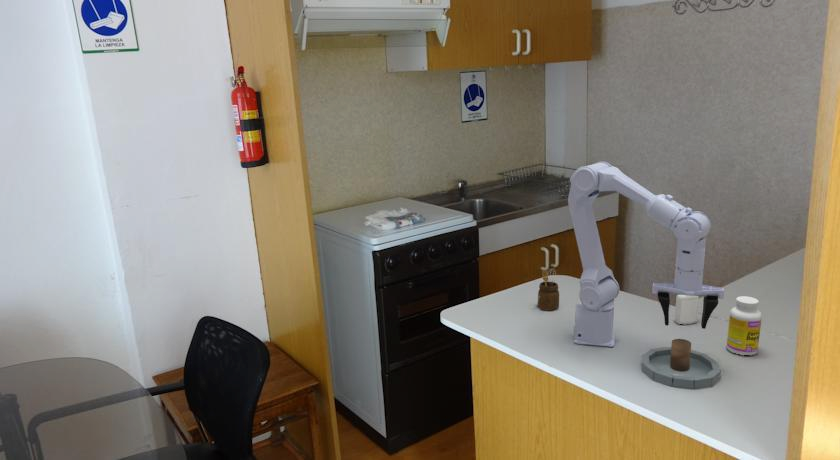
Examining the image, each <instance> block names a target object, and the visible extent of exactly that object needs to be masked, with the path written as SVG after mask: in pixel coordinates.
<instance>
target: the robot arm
mask: <svg viewBox="0 0 840 460" xmlns="http://www.w3.org/2000/svg"><path fill="white" fill-rule="evenodd" d="M569 182H570V188H569V192H568V198H567V204H568V209H569V212H570V216H571V217H570V218H571V220H572V226H573V231H574V234H575V235H574V236H575V239H576V243H577V248H578V252H579V257H580V262H581V266H582V273H581V275H580V276H581V277H580V278H579V287H580V290H579V293H578V294H579V295H578V298H579V301H580V304H576V305H575V314H574V325H573V333H574V336H573V337H574V339H573V343H574V344H577V345H578V344H579V345H586V346H587V345H588V346H589V345H590V346H597V347H598V346H600V347H612V348H613V347H615V333H614V321H615V320H614V317H615V313H614V312H615V299H616V298H617V297H619V295H620V284H619V282H618V281H617V280H616V279H615V277H614V274H613V270H612V269H610V268H609V267H608V266H607V265H606V260H605V257H604V252H603V246H602V243H601V238H600V234H599V229H598V225H597V220H596V216H595V212H594V207H593V203H594V201H595V200H596V199H597V197H598V196H599V194H600V193H601V192H614V191H615V192H617V193H619V194H620V195H622V196H624V197H625V198H627V199H630V200H631V201H633V202H635V203H637V204H638V205H640V206H642V207H644V208H645V209H646V214H647V216H648V217H650V218H651V219H653V220H655V221H656V222H658V223H659V224H661V225H663V226H664V227H666V228H667V229H669V230H670V231H673V235H674V237H675V238H676V241H677V245H676V256H675V269H674V270H675V272H674V280H673V281H674V282H653V283H652V294H653V295H654V294H655V295H657V300H658V301H659V304H660V306H661V309H662V312H663V316H664V317H663V318H664V326H667V327H668V326H669V323H670V320H669V319H670V318H669V317H670V312H669V311H670V303H671V299H670V295H676V296H677V295H686V296H699V297H703V301H702V302H703V305H702V306H703V307H702V315H701V322H700V326H701V329H704V330H706V329H707V328H706V327H707V325H708V321H709V319H710V317H711V316H712V314H713V312H714V310H715V309H716V308H717V306H718V305H719V299H720V300H723V299H724V297H725V289H724V288H723V287H718V286H711V285H707V284H706V285H705V284H703V278H704V267H705V258H706V256H705V255H706V243H707V242H706V240H707V237H706V236H707V235H708V234H709V233H710V232H711V229H712V224H711V221H710V219H709V217H708V216H707V215H706V214H705V213H704V212H703V211H698V210H697V211H693V209H692V208H691V207H689V206H687V207H685V206H683V204H680V203H679V202H677V201H676V200H674V196H672V195H671V194H666V195H665V194H663V193H662V194H656V195H655V194H654V193H652V192H651V191H649V190H648V189H647V188H645V187H644V186H642V185H641V184H639V183H637V182H636V181H635V180H633V179H632V178H631V177H629V176H627V175H626V174H625V173H624V172H622V171H621V170H620V169H619V168H618V167H616V166H614V165H611V164H610V163H609V162H607V161H598V162H595V163H593V164H589V165H586V166H585V165H583V166H580V167H578V168H577V169H575V171H574V172H573V174H572V175H571V176H570V178H569Z"/></svg>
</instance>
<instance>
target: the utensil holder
mask: <svg viewBox="0 0 840 460" xmlns="http://www.w3.org/2000/svg"><path fill="white" fill-rule="evenodd" d="M552 270H553V271H552ZM552 270H542V271H541V272H542V273H541V274H542V280H543V281H542V282H540V283H539V287H538V288H539V289H538V292H537V307H538V309H540V310H542V311H546V312H547V311H548V312H551V311H556V310H558V309H559V307H560V291H559V284H558V282H556V279H557V278H556V277H557V275H552V276H553V277H552V278H554V276H555V278H554V279H551V280H552V281H551V280H549V276H551V273H552V272H553V273H552V274H555V273H557V272H556V270H555V269H552ZM554 272H555V273H554ZM549 273H550V274H549Z"/></svg>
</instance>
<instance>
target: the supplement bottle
mask: <svg viewBox="0 0 840 460" xmlns="http://www.w3.org/2000/svg"><path fill="white" fill-rule="evenodd" d="M759 302H760V301H759V300H758V299H757V298H755V297H752V296H745V295H743V296H742V295H741V296H737V297H736V299H735V305H736V306H734V307H731V309H730V311H729V318H728V319H729V320H728V329H727V337H726V338H727V340H726V348H727V350H728V351H729V352H731V353H733V354H735V353H736V355H738V354H740V355H739V356H744V355H750V356H754V355H756V354H757V353H758V351H759V343H760V335H761V327H762V319H763V316H762V313H761V311H760V310H758V307H759Z"/></svg>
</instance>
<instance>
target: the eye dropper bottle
mask: <svg viewBox="0 0 840 460" xmlns="http://www.w3.org/2000/svg"><path fill="white" fill-rule="evenodd" d="M675 299H676V300H675V309H674V310H675V311H674V322H675V323H676V324H678V325H680V324H683V325H682V326H688V325H687V324H689V325H693V323H694V324H695V323H697V322H698V315H699V303H700V302H699V300H700V296H686V295H677V294H676V298H675Z"/></svg>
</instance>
